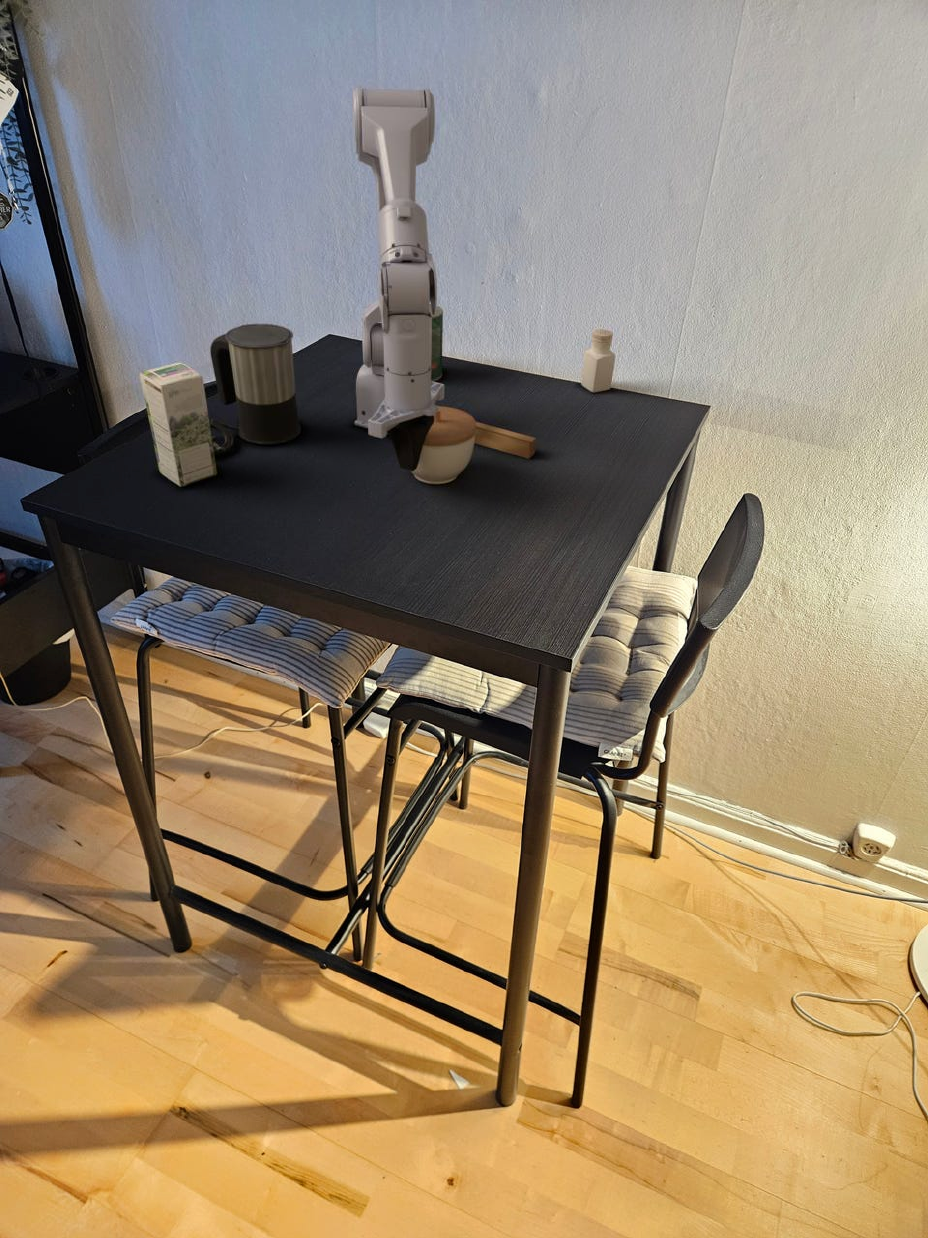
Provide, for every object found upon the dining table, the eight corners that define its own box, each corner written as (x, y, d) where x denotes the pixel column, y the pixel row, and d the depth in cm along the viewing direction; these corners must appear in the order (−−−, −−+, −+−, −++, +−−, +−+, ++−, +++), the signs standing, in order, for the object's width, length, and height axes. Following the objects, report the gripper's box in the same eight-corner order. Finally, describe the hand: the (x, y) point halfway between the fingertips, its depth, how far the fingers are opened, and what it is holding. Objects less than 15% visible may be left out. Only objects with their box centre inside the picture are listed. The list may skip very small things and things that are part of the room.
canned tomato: (449, 370, 146) (451, 307, 140) (429, 386, 141) (430, 320, 134) (409, 362, 149) (409, 299, 142) (388, 377, 143) (387, 312, 136)
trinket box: (465, 497, 112) (468, 431, 106) (388, 486, 113) (386, 421, 107) (480, 461, 120) (483, 399, 114) (408, 452, 121) (407, 390, 116)
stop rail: (434, 431, 127) (434, 415, 125) (441, 427, 128) (441, 410, 127) (528, 458, 121) (530, 441, 119) (534, 453, 123) (536, 436, 121)
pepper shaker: (579, 385, 143) (586, 329, 138) (598, 381, 145) (606, 326, 139) (592, 394, 141) (599, 337, 135) (611, 390, 142) (620, 334, 136)
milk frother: (311, 424, 128) (303, 327, 119) (266, 470, 116) (253, 366, 106) (227, 411, 130) (212, 315, 121) (174, 455, 118) (153, 352, 109)
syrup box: (196, 460, 117) (178, 359, 108) (219, 475, 114) (202, 372, 105) (159, 473, 114) (137, 369, 105) (181, 489, 111) (160, 384, 102)
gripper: (402, 394, 94) (403, 499, 103) (466, 355, 105) (462, 454, 113) (351, 380, 97) (356, 484, 105) (418, 344, 107) (418, 441, 116)
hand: (408, 467), depth 109 cm, fingers closed
